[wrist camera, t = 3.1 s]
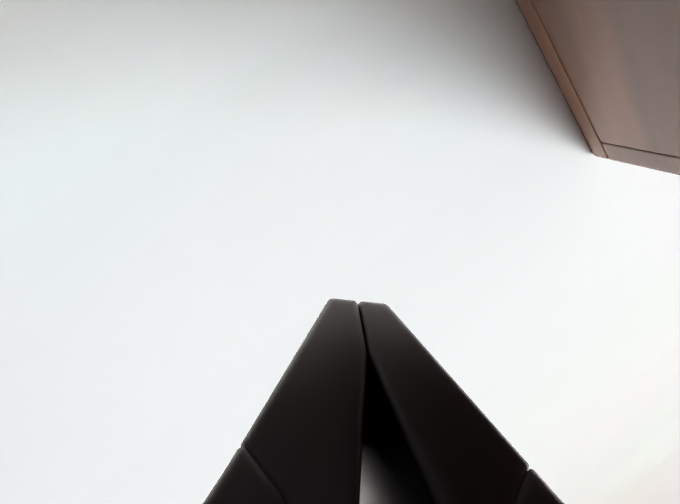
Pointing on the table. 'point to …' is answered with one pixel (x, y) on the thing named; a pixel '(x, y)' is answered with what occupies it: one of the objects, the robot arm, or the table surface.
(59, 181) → the table surface
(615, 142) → the walnut box
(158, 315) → the table surface
